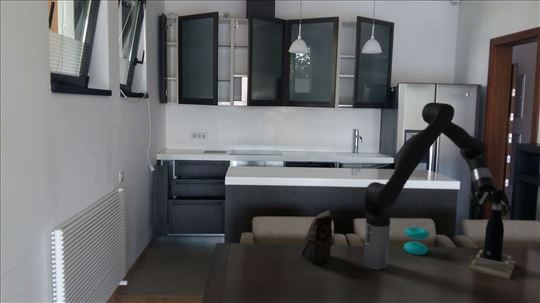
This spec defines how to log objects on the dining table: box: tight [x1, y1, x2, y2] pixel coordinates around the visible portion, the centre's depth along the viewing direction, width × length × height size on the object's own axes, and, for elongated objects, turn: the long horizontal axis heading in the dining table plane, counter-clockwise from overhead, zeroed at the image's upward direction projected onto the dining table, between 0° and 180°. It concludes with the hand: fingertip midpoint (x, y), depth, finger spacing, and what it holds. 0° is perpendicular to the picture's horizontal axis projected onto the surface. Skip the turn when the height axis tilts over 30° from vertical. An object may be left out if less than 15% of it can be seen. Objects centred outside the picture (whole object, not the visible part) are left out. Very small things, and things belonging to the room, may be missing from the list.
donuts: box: [403, 226, 430, 256], centre depth 186 cm, size 10×10×10 cm
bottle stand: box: [468, 249, 516, 280], centre depth 171 cm, size 18×14×4 cm
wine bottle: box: [483, 188, 505, 262], centre depth 169 cm, size 6×6×30 cm
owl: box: [300, 209, 334, 266], centre depth 173 cm, size 13×13×20 cm
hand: (494, 214), depth 171 cm, fingers open, 8 cm apart
